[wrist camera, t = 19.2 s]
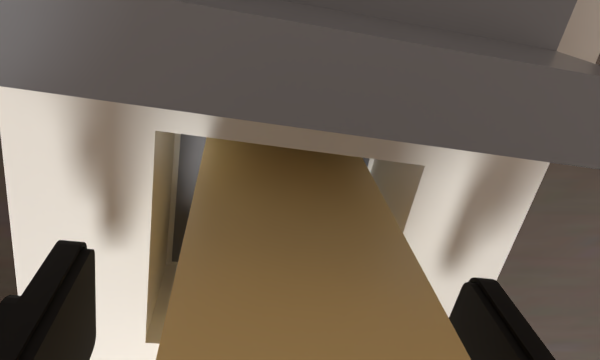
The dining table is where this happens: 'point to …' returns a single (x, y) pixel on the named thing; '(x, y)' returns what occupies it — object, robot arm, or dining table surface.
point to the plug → (298, 265)
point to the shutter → (325, 67)
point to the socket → (182, 180)
